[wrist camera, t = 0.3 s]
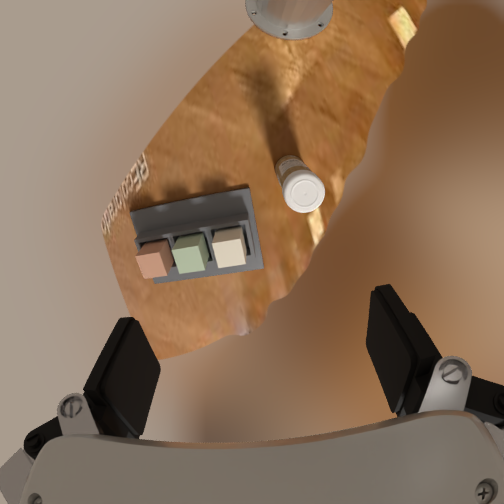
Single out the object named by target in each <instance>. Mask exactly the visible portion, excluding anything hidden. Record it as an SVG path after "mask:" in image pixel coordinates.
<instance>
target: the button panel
mask: <svg viewBox="0 0 504 504" xmlns="http://www.w3.org/2000/svg"><path fill="white" fill-rule="evenodd" d="M130 215H131V219H132V222H133V225H134V228H135V231H136V234H137V237H136V239H135V240H134V241H135V244H136V246H137V249H138V252H139V251H140V249H141V248H142V246H143V245H144V244H145V243H148V242H154V241H159V240H165V239H167V241H168V244H169V247H170V250H171V253H172V248H173V247H174V245H175V243H176V241H177V239H178V237H181V236H187V235H192V234H198V233H203V234H204V238H205V242H206V245H207V249H208V253H209V258H208V262H207V265H206V269H205V270H203V271H196V272H189V273H182V274H179V271H178V268H177V265H176V262H175V259H174V256H173V253H172V256H173V259H174V262H173V264H172V267H171V269H170V271H169V273H168V275H167V276H161V277H154V278H153V280H154V283H155V284H156V283H164V282H171V281H179V280H186V279H193V278H201V277H208V276H215V275H222V274H229V273H236V272H243V271H249V270H256V269H263V268H264V265H263V259H262V253H261V248H260V243H259V237H258V232H257V226H256V221H255V215H254V210H253V205H252V199H251V194H250V188H249V187H248V188H242V189H237V190H231V191H226V192H220V193H215V194H209V195H204V196H199V197H194V198H189V199H184V200H179V201H175V202H170V203H165V204H161V205H156V206H152V207H147V208H143V209H139V210H135V211H131V212H130ZM239 226H242V230H243V235H244V240H245V244H246V249H247V251H246V264H243V265H237V266H230V267H223V268H218V265H217V261H216V257H215V253H214V250H213V246H212V241H213V238H214V235H215V231H216V230H221V229H227V228H233V227H239Z"/></svg>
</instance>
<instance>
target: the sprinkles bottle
mask: <svg viewBox="0 0 504 504" xmlns="http://www.w3.org/2000/svg"><path fill="white" fill-rule="evenodd" d="M275 173H276V175H277V178H278V180H279V183H280V185H281V187H282V193H283V197H284V199H285V201H286V203H287V205H288V206H289V207H290V208H291V209H293V210H295V211H297V212H301V213H306V212H311V211H313V210H315V209H316V208H318V207H319V206H320V205H321V203H322V201H323V199H324V196H325V189H324V185H323V183H322V181H321V180H320V179H319V177H318V176H317V175H316V174H314V173H313V172H312V171H311V170H310V169H309V168H308V167H307V166H306V165H305V164H304V163H303V161H302V160H301V159H300V158H298V157H296V156H293V155H288V156H284V157H282V158H281V159H280V160H279V161H278V162H277V164H276V167H275Z"/></svg>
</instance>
